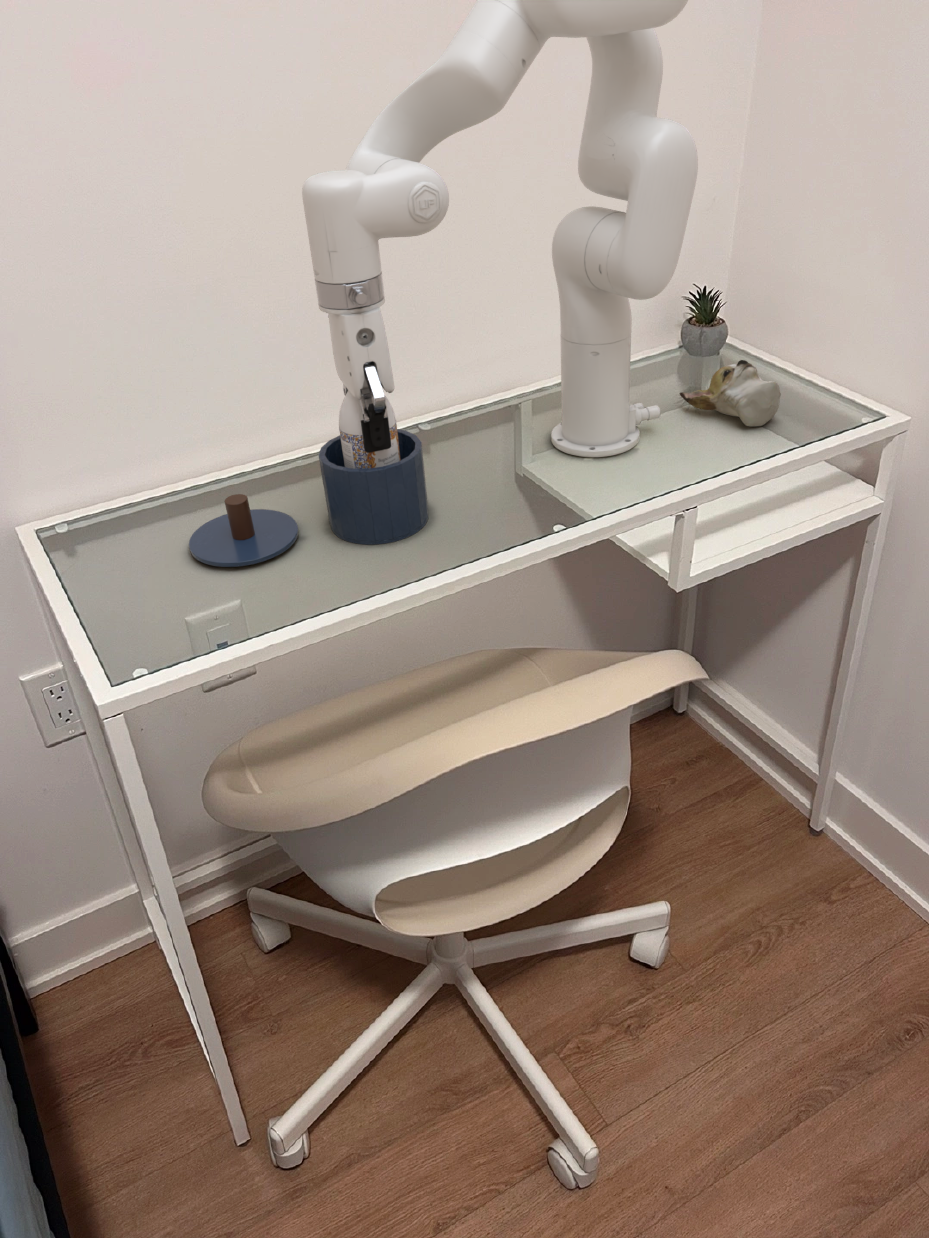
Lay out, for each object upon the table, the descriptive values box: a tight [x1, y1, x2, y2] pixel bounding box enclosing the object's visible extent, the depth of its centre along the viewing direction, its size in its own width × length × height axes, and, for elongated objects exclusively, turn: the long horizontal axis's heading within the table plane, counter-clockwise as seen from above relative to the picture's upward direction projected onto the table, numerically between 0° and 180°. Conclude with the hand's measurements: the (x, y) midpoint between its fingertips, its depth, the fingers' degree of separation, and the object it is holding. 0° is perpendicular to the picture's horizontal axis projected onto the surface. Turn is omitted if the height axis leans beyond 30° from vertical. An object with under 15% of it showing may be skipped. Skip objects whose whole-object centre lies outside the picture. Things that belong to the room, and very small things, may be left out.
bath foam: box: [338, 375, 401, 469], centre depth 123 cm, size 7×7×20 cm
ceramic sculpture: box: [679, 359, 782, 427], centre depth 147 cm, size 11×9×15 cm
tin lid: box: [188, 493, 299, 568], centre depth 125 cm, size 14×14×6 cm
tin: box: [318, 428, 429, 546], centre depth 126 cm, size 13×13×10 cm
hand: (369, 436), depth 123 cm, fingers closed on bath foam, 7 cm apart
